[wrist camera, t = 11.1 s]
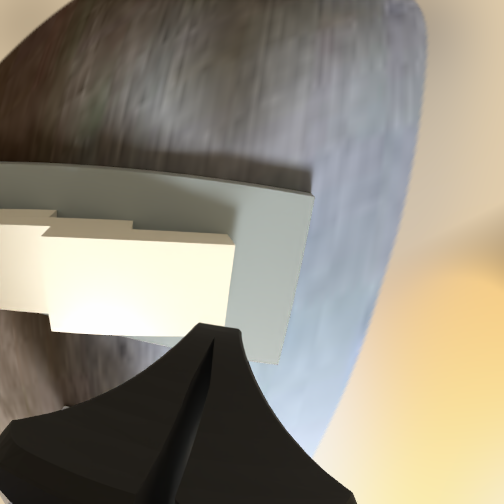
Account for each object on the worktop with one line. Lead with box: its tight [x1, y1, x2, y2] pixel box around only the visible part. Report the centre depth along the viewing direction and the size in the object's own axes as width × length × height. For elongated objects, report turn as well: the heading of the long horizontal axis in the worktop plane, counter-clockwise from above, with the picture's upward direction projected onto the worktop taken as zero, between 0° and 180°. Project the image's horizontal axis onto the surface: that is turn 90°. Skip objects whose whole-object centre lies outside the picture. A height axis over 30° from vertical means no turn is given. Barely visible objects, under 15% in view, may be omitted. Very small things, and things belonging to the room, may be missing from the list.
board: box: [0, 162, 315, 365], centre depth 16 cm, size 9×22×1 cm, turn 81°
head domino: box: [41, 226, 235, 336], centre depth 13 cm, size 4×2×8 cm
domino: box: [0, 216, 133, 314], centre depth 13 cm, size 4×2×8 cm
